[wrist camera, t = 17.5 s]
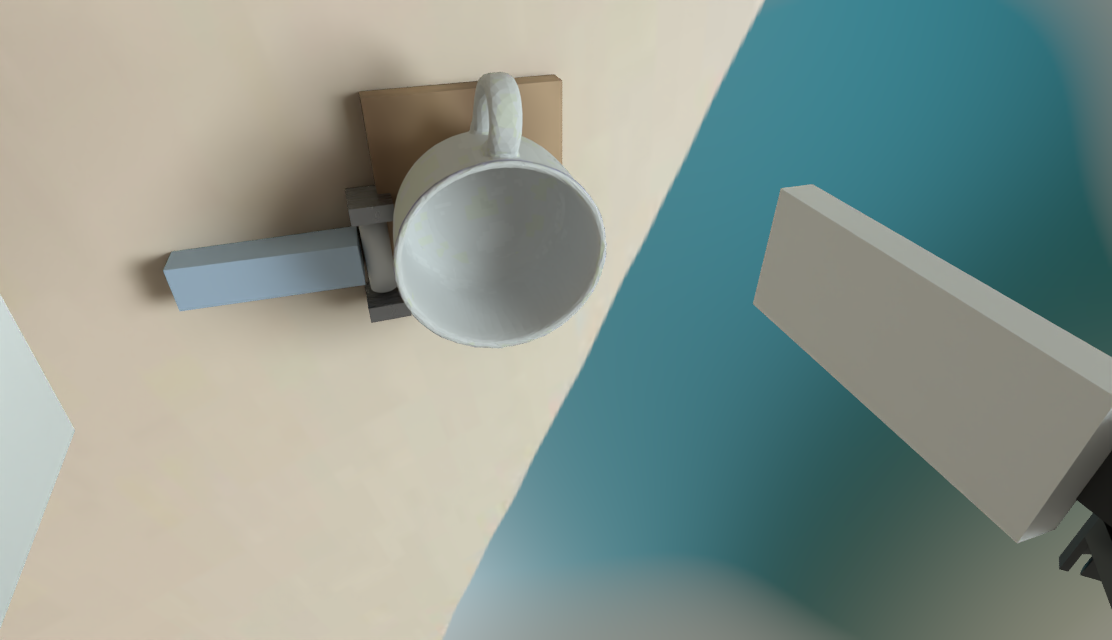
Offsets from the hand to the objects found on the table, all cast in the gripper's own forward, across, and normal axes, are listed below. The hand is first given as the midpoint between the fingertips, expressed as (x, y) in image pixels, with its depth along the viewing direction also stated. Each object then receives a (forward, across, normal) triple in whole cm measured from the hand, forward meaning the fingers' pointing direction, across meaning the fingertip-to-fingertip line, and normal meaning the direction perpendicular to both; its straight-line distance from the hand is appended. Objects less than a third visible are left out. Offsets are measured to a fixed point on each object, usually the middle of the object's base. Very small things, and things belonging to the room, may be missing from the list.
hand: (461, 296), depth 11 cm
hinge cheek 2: (+27, 0, -15) cm, 31 cm away
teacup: (+25, +6, -8) cm, 27 cm away
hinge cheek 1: (+27, 0, -9) cm, 28 cm away
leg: (+27, -5, -12) cm, 30 cm away
